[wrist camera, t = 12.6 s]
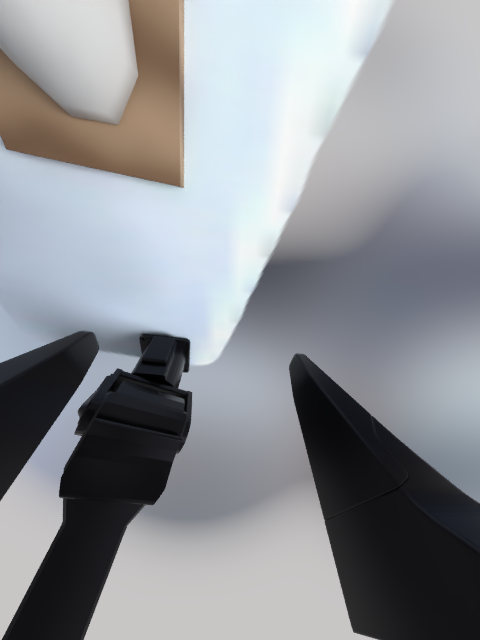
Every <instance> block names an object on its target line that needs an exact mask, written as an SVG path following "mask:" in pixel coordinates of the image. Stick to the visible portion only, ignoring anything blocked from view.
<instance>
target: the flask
mask: <svg viewBox="0 0 480 640" xmlns="http://www.w3.org/2000/svg"><path fill="white" fill-rule="evenodd" d="M0 49H1V50H2V51H3V52H4V53H5V54H6V55H7V56H8V57H9V59H10V60H11V61H12V62H13V63H14V64H15V65H16V66H17V67H18V68H19V69H20V70H21V71H22V72H23V73H25V74H26V75H27V76H28V77H29V78H30V79H31V80H32V81H33V82H34V83H35V84H37V85H38V86H39V87H40V88H41V89H42V90H43V91H44V92H45V93H46V94H47V95H49V96H50V97H51V98H52V99H53V100H54V101H55V102H56V103H57V104H58V105H60V106H61V107H62V108H63V109H64V110H65V111H66V112H67V113H68V114H69V115H70V116H72V117H76V118H82V119H88V120H94V121H99V122H105V123H111V124H117V125H119V122H120V120H121V117H122V115H123V112H124V110H125V107H126V105H127V102H128V100H129V97H130V95H131V93H132V90H133V88H134V85H135V83H136V80H137V78H138V70H137V62H136V54H135V47H134V39H133V31H132V24H131V16H130V8H129V1H128V0H0Z"/></svg>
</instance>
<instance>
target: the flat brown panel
mask: <svg viewBox="0 0 480 640" xmlns="http://www.w3.org/2000/svg"><path fill="white" fill-rule="evenodd" d="M128 1H129V8H130V16H131V24H132V31H133V39H134V47H135V54H136V62H137V70H138V78H137V80H136V83H135V85H134V88H133V90H132V93H131V95H130V97H129V100H128V102H127V105H126V107H125V110H124V112H123V115H122V117H121V120H120V122H119V125H117V124H111V123H105V122H99V121H94V120H88V119H82V118H76V117H72V116H70V115H69V114H68V113H67V112H66V111H65V110H64V109H63V108H62V107H61V106H60V105H58V104H57V103H56V102H55V101H54V100H53V99H52V98H51V97H50V96H49V95H47V94H46V93H45V92H44V91H43V90H42V89H41V88H40V87H39V86H38V85H37V84H35V83H34V82H33V81H32V80H31V79H30V78H29V77H28V76H27V75H26V74H25V73H23V72H22V71H21V70H20V69H19V68H18V67H17V66H16V65H15V64H14V63H13V62H12V61H11V60H10V59H9V57H8V56H7V55H6V54H5V53H4V52H3V51H2V50H1V49H0V135H1V137H2V140H3V142H4V145H5V147H6V149H8V150H12V151H17V152H21V153H26V154H30V155H35V156H40V157H44V158H49V159H54V160H58V161H63V162H68V163H72V164H77V165H81V166H86V167H91V168H95V169H100V170H105V171H109V172H114V173H119V174H123V175H128V176H132V177H137V178H142V179H146V180H151V181H156V182H160V183H165V184H170V185H174V186H179V187H183V188H184V0H128Z"/></svg>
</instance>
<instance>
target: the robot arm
mask: <svg viewBox="0 0 480 640" xmlns="http://www.w3.org/2000/svg"><path fill="white" fill-rule="evenodd" d="M185 342H186V343H185ZM140 344H141V350H142V356H141V358H140V359H139V361H138V363H137V365H136V367H135V368H134V370H133V371H132V373H128V372H124V371H122V370H121V369H117V370H116V371H115V372H114V374H111V375H110V376H107V377H106V378H105V379H104V381H103V382H102V384H101V385H100V386H99V388H98V389H97V390H96V391H95V392H94V393H93V394H92V395H91V396H90V397H89V398H88V399H87V400H86V401H85V402H84V403H83V404H82V406H81V407H80V408H79V410H78V414H79V418H80V419H79V422H78V426H77V428H76V431H75V435H80V436H82V437H81V439H80V441H79V442H78V444H77V446H76V448H75V450H74V451H73V453H72V455H71V456H70V458H69V460H68V462H67V463H66V465H65V468H64V473H63V475H62V477H61V482H60V490H59V497H60V498H63V522H62V525H61V527H60V529H59V531H58V533H57V535H56V537H55V538H54V541H53V542H52V544H51V546H50V548H49V550H48V552H47V554H46V556H45V558H44V560H43V562H42V563H41V565H40V567H39V569H38V571H37V573H36V575H35V577H34V579H33V581H32V583H31V585H30V586H29V588H28V590H27V592H26V594H25V596H24V598H23V600H22V602H21V604H20V606H19V608H18V610H17V612H16V613H15V615H14V617H13V619H12V621H11V623H10V625H9V627H8V629H7V631H6V633H5V635H4V636H3V638H2V640H84V637H85V634H86V632H87V629H88V626H89V624H90V621H91V618H92V616H93V613H94V611H95V608H96V605H97V603H98V600H99V597H100V595H101V592H102V590H103V587H104V584H105V582H106V579H107V577H108V574H109V572H110V569H111V566H112V563H113V561H114V558H115V555H116V553H117V551H118V548H119V545H120V543H121V540H122V537H123V535H124V532H125V530H126V528H127V525H128V524H129V523H130V522H131V521H132V520H133V518H134V517H135V516H136V515H137V514H138V513H139V511H140V510H141V509H142V508H143V507H144V506H145V505H154V504H155V502H156V501H157V500H158V498H159V497H160V495H161V494H162V492H163V491H164V489H165V487H166V483H167V480H168V476H169V473H170V470H171V466H172V463H173V460H174V457H175V455H176V454H178V453H179V452H180V451H181V449H182V447H183V445H184V443H185V441H186V438H187V435H188V432H189V428H190V424H191V409H192V392H190V391H184V390H181V389H178V387H179V383H180V380H181V376H182V373H183V372H188V371H189V362H190V340H188V339H181V338H173V337H164V336H155V335H147V334H142V335H141V336H140ZM98 350H99V345H98V342H97V339H96V336H95V334H94V333H93V332H89V331H79V332H77V333H74V334H72V335H69V336H67V337H64V338H62V339H59V340H57V341H54V342H52V343H49V344H47V345H44V346H42V347H40V348H37V349H34V350H32V351H29V352H27V353H24V354H22V355H19V356H17V357H14V358H12V359H9V360H7V361H4V362H2V363H0V501H1V499H2V498H3V496H4V495H5V493H6V492H7V490H8V489H9V487H10V486H11V485H12V483H13V482H14V480H15V479H16V477H17V476H18V474H19V473H20V472H21V470H22V469H23V467H24V465H25V464H26V463H27V461H28V460H29V458H30V457H31V456H32V454H33V453H34V451H35V450H36V448H37V447H38V445H39V444H40V442H41V441H42V439H43V438H44V437H45V435H46V433H47V432H48V430H49V429H50V428H51V426H52V425H53V423H54V422H55V421H56V419H57V417H58V416H59V415H60V413H61V412H62V410H63V409H64V407H65V406H66V404H67V403H68V402H69V400H70V399H71V397H72V396H73V394H74V393H75V391H76V390H77V388H78V387H79V385H80V384H81V382H82V380H83V378H84V377H85V375H86V373H87V371H88V369H89V368H90V366H91V364H92V362H93V360H94V358H95V356H96V355H97V353H98ZM289 371H290V377H291V385H292V392H293V398H294V402H295V406H296V411H297V414H298V418H299V422H300V426H301V430H302V434H303V438H304V442H305V446H306V449H307V454H308V458H309V462H310V465H311V469H312V473H313V477H314V481H315V485H316V489H317V493H318V497H319V501H320V505H321V508H322V513H323V516H324V519H325V525H326V529H327V533H328V536H329V540H330V544H331V548H332V552H333V556H334V560H335V564H336V568H337V572H338V576H339V579H340V584H341V588H342V591H343V595H344V599H345V603H346V607H347V611H348V615H349V619H350V622H351V626H352V629H353V632H354V633H357V634H361V635H365V636H368V637H372V638H375V639H378V640H480V503H478V502H477V501H475V500H473V499H472V498H471V497H469V496H468V495H466V494H465V493H464V492H462V491H461V490H460V489H458V488H457V487H456V486H455V485H454V484H452V483H451V482H450V481H449V480H447V479H446V478H445V477H444V476H442V475H441V474H440V473H439V472H438V471H436V470H435V469H434V468H433V467H432V466H430V465H429V464H428V463H427V462H425V461H424V460H423V459H422V458H420V457H419V456H418V455H417V454H416V453H414V452H413V451H412V450H411V449H409V448H408V447H407V446H406V445H405V444H404V443H402V442H401V441H400V440H399V439H398V438H396V437H395V436H394V435H393V434H392V433H391V432H390V431H388V430H387V429H386V428H385V427H384V426H383V425H382V424H381V423H379V422H378V421H377V420H376V419H375V418H374V417H373V416H371V415H370V414H369V413H368V412H367V411H366V410H365V409H364V408H363V407H362V406H361V405H360V404H359V403H357V402H356V401H355V400H354V399H353V398H352V397H351V396H350V395H349V394H348V393H346V392H345V391H344V390H343V389H342V388H341V387H340V386H339V385H338V384H336V383H335V382H334V381H333V380H332V379H331V378H330V377H329V376H328V375H326V374H325V373H324V372H323V371H322V370H321V369H320V368H319V367H318V366H317V365H316V364H314V363H313V362H312V361H311V360H310V359H309V358H308V357H307V356H306V355H304V354H298V353H297V354H295V355H294V357H293V359H292V361H291V363H290V366H289Z"/></svg>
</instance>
